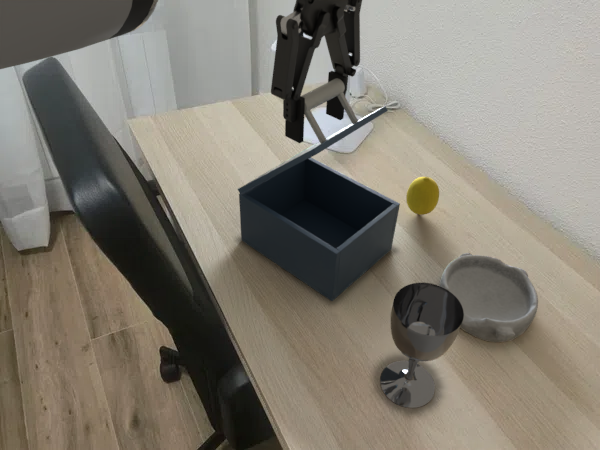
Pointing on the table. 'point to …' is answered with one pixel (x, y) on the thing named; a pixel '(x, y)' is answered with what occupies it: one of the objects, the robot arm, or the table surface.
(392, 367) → the wine glass
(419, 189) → the lemon
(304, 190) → the chest
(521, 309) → the dish
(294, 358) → the table surface
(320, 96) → the lid
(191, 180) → the table surface
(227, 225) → the table surface
